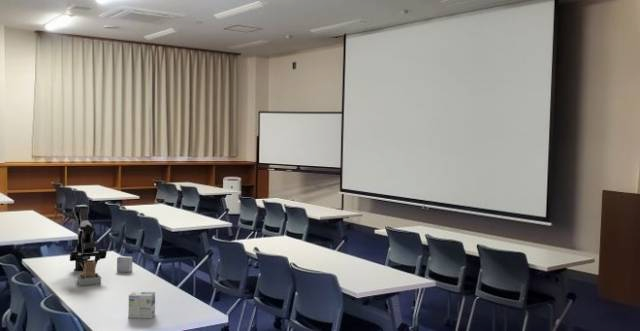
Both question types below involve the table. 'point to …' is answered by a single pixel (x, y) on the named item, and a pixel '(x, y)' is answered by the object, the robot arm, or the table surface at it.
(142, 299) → the light bulb box
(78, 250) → the robot arm
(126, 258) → the medicine box
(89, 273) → the small crate
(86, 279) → the grey square tray
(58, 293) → the table surface
